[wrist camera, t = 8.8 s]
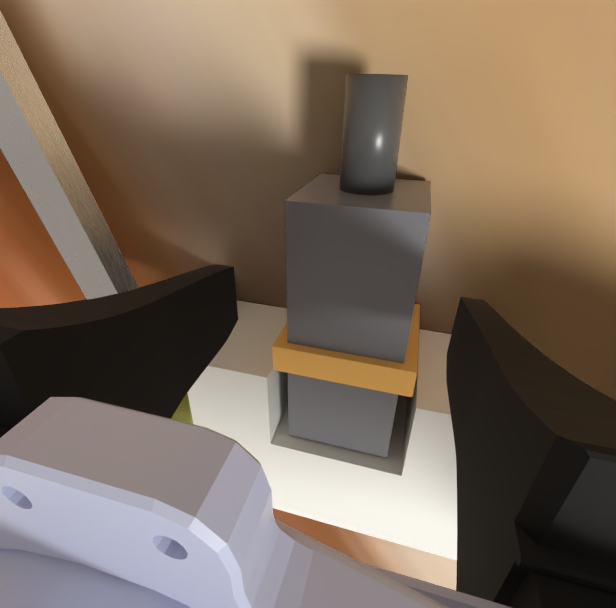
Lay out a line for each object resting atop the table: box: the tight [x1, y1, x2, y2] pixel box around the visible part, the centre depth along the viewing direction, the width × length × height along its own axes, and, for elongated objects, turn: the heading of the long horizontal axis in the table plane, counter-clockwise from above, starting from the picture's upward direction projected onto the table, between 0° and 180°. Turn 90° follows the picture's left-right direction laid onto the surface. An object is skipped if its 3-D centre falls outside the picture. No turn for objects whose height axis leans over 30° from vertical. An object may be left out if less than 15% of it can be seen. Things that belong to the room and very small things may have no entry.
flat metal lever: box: [0, 11, 139, 300], centre depth 13 cm, size 13×3×1 cm, turn 16°
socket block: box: [187, 301, 457, 560], centre depth 19 cm, size 16×11×6 cm
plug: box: [272, 74, 431, 458], centre depth 15 cm, size 6×15×5 cm, turn 179°
